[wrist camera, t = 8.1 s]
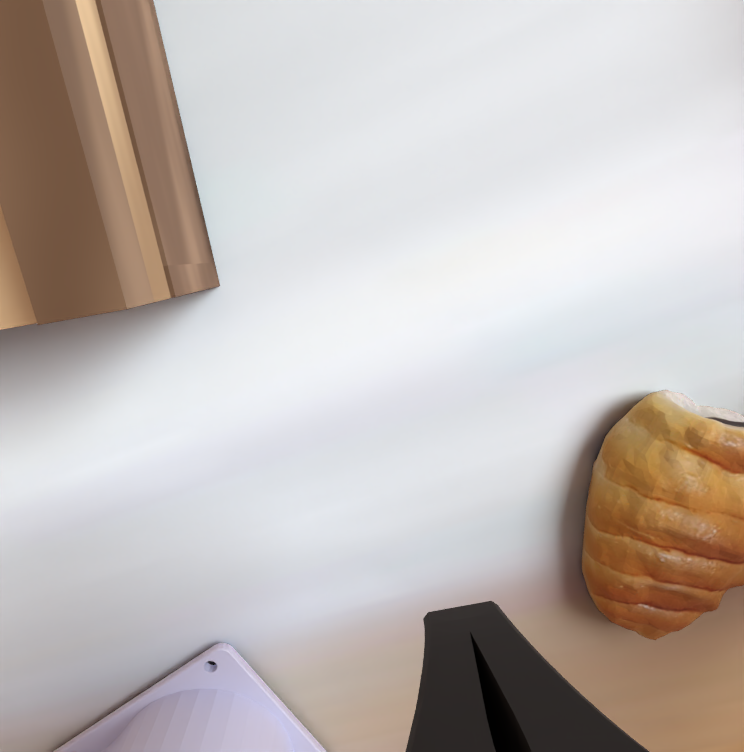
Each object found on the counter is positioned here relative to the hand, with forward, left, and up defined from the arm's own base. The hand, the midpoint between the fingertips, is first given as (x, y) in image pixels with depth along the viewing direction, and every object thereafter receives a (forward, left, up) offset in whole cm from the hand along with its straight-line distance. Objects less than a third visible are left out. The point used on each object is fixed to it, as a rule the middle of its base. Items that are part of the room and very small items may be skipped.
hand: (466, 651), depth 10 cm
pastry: (+7, -7, -11) cm, 15 cm away
